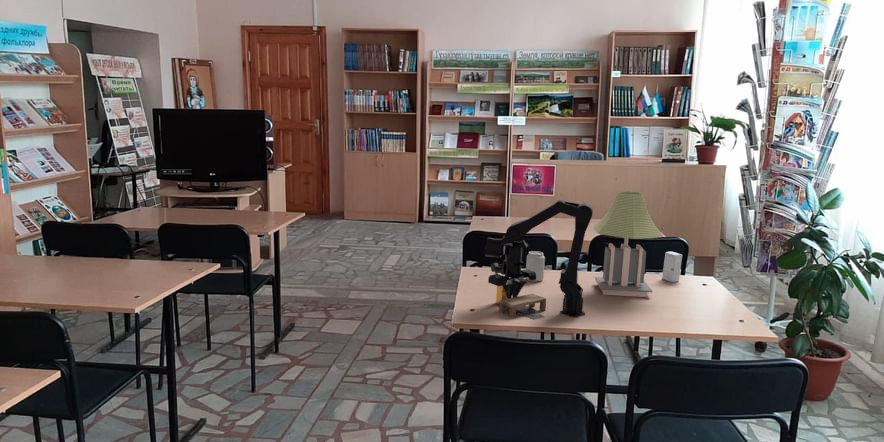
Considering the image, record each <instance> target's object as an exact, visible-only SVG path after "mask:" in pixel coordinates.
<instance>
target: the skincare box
mask: <svg viewBox="0 0 884 442" xmlns="http://www.w3.org/2000/svg"><path fill="white" fill-rule="evenodd" d="M664 254H665V255H664V261H663V269H662V276H661V278H662V280H665V281H668V282H671V283H676V282H679V281H680V276H681V275H680V274H681V268H682V259H683V254H681V253H678V252H674V251H666V252H665V253H664Z"/></svg>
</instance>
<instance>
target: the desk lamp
mask: <svg viewBox="0 0 884 442" xmlns="http://www.w3.org/2000/svg"><path fill="white" fill-rule="evenodd" d="M593 230H594V231H595V232H596V233H597V234H598V235H603V236H608V237H616V238H622V239H624V240H623V241H624V242H623V243H621V244H620V247H616V246H615V245H614V244H613V243H611V242H610V243H608V247H606V246H605V247H604V257H603V258H604V259H603V273H602V274H603V275H602V276H601V277H600V276H594V280H595V282H596V283H597V286H598V287H599V289H600V290H601V292H602V295H604V296H605V295H608V296H620V297H621V296H623V297H624V296H625V297H641V298H647V297H648V293H653V289H651V287H650V286H649V285H648V284H647V282H646V281H645V273H646V272H645V269H646V259H647V251H646V250H645V249H644V248H643V246H641V244H636V245H635V246H636V247H635V248H631V246H630V245H629V239H630V240H631V239H632V240H639V239H641V240H645V239H646V240H647V239H658V238H662V237H663V234H662V232H661V231H660V230H659V228H658V227H657V226H656V225H655V223H654V221H653V220H652V218H651V215H650V213H649V212H648V208H647V205H646V201H645V197H644V194H643V193H642V192H639V191H629V190H627V191H626V190H624V191H622V190H621V191H617V194H616V196H615V198H614V200H613V202H612V204H611V206H610V208H609V209H608V211H607V212H606V213H605V215H604V216H603V217H602V218H601V219H600V220H599V221H598V222H597V223H596V224H594V226H593Z"/></svg>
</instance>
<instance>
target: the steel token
mask: <svg viewBox="0 0 884 442" xmlns="http://www.w3.org/2000/svg"><path fill="white" fill-rule="evenodd" d="M524 316H525V317H527V318H529V317H530V318H529V319H532V318H533V319H532V320H538V319H543V318H545V317H546V315H544V314H540V313H538V312H532V313H527V314H524ZM542 317H543V318H542Z"/></svg>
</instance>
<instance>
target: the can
mask: <svg viewBox="0 0 884 442" xmlns="http://www.w3.org/2000/svg"><path fill="white" fill-rule="evenodd" d="M545 261H546V256H544V252H543V251H536V250H534V251H533V250H531V251H528V254H527V255H526V263H525V264H526V265H525V269H527V270H531V271H534V272H535V273H536V280H529V278H528V277H527V278H525V279H526V280H527V281H529V282H532V283H533V282H534V283H536V282H537V281H540V282H542V281H543V280H544V277H545V276H544V275H545ZM537 283H538V282H537Z"/></svg>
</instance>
